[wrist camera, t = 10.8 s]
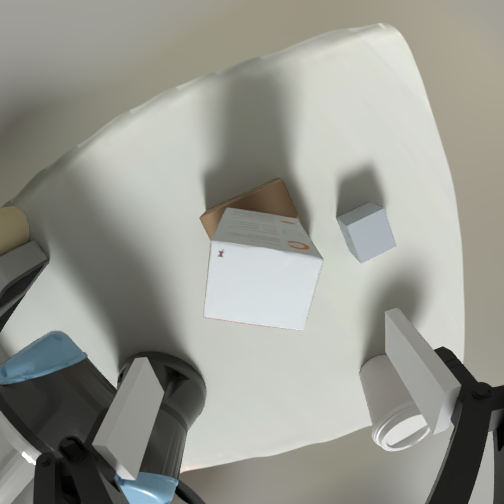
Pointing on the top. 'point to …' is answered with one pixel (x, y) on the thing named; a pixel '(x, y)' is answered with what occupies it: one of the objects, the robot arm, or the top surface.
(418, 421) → the coffee cup
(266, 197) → the walnut block
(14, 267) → the graphics card
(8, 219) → the coffee cup
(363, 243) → the grey cube
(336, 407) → the top surface
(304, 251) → the small box
